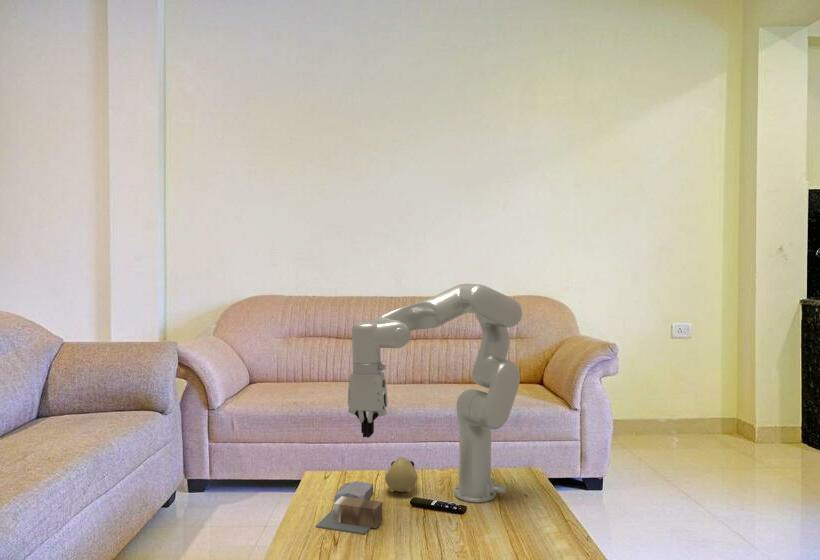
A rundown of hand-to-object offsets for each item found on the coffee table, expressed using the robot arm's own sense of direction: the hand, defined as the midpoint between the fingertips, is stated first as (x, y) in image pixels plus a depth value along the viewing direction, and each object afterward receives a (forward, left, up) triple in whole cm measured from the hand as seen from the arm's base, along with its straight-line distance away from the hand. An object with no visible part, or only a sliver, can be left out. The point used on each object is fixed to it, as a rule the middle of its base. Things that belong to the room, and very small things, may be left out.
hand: (367, 435), depth 154 cm
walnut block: (-4, +1, -20) cm, 21 cm away
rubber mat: (+5, +1, -23) cm, 24 cm away
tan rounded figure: (-2, -23, -24) cm, 33 cm away
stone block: (+10, -13, -24) cm, 29 cm away
